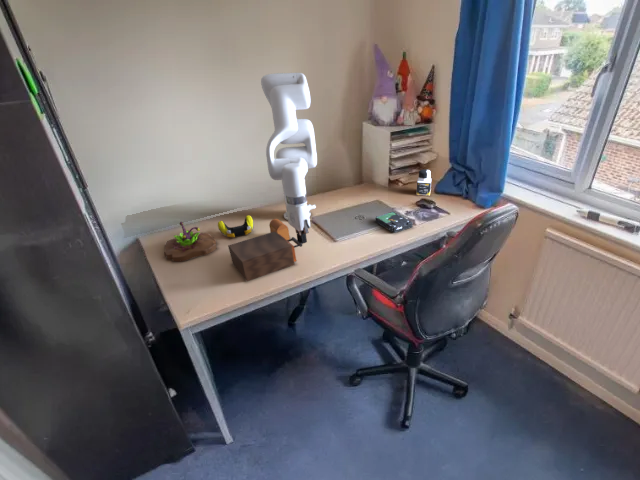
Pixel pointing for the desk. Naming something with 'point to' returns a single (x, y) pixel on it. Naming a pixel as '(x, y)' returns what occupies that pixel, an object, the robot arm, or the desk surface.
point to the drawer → (292, 245)
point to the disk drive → (393, 222)
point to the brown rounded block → (279, 228)
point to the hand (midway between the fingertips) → (302, 242)
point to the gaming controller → (236, 228)
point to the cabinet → (261, 255)
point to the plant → (189, 245)
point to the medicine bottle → (424, 182)
